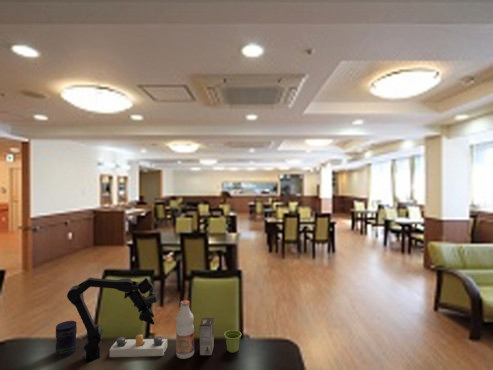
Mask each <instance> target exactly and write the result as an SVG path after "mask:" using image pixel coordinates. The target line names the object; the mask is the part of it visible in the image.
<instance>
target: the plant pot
mask: <svg viewBox="0 0 493 370" xmlns="http://www.w3.org/2000/svg"><path fill="white" fill-rule="evenodd" d="M241 337H242V333H241V331H239V330H236V329H229V330H227V331H225V332H224V338H225V343H226V351H227V352H229V353H236V352H238V351H239V346H240V341H241Z"/></svg>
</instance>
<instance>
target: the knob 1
mask: <svg viewBox="0 0 493 370" xmlns="http://www.w3.org/2000/svg"><path fill="white" fill-rule="evenodd" d="M125 340H126V337H125V336H120V337H118V338H116V341H115V342H117V347H123V346H124V345H125V344H124V342H125Z"/></svg>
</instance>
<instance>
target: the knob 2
mask: <svg viewBox="0 0 493 370" xmlns="http://www.w3.org/2000/svg"><path fill="white" fill-rule="evenodd" d="M153 339H154V345H155V346H160V345H161V342H162V339H163V337H162V336H154V338H153Z"/></svg>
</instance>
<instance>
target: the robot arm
mask: <svg viewBox="0 0 493 370" xmlns="http://www.w3.org/2000/svg"><path fill="white" fill-rule="evenodd" d="M89 288H103V289H114V290H117V291H120V292H124V298H123V299H125V300H126V299H128V298H129V299H130V301H131V302H132V304H133V306H134V307H135V308H136V309H137V310H138V313H139V314H138V319H139V320H140V321H141V322H146V323H148V324H150V325H155V320H154V319H153V318H154V317H155V315H154V312H153V310H152V308H151V306H152V304H155V303H157V302H158V299H157V294H156V293H154V292H153V291H151V290H152V289H154V285H153V283H152V281H151V280H150V279H148V277H144V279H142V280H141V281H140V282H138V281H135V280H133V279H131V278H120V279H108V278H95V277H87V279H86V280H84V281H82V282H80V283H79V284H77V285H73V286H72V287H71V288H69V291H68V292H67V293H66V298H67V300H68V301H69V302H70V303H71V304H72V305H73V306H74V307H75V309H76V311H77V313H78V314H79V316H80V320H81V321H82V324H83V325H84V328H85V330H86V336H87V338H86V341H85V344H84V346H83V357H82V359H83V360H84V361H85V362H86V363H90V362H92V361H94V360H97V359H100V358H101V355H100V352H101V349H100V348H101V347H100V343H101V340H102V337H103V331H104V330H103V329H102V327H101V324H98V325H97V324H95V321H94V320H93V317H92V315H91V313H90V311H89V309H88V307H87V305H86V302H85V296H84V293H85V292H86V291H87V290H89ZM150 291H151V292H150ZM148 292H149V293H148ZM146 293H147V294H148V295H147V296H146V295H145V294H146ZM142 294H143V295H142Z"/></svg>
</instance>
